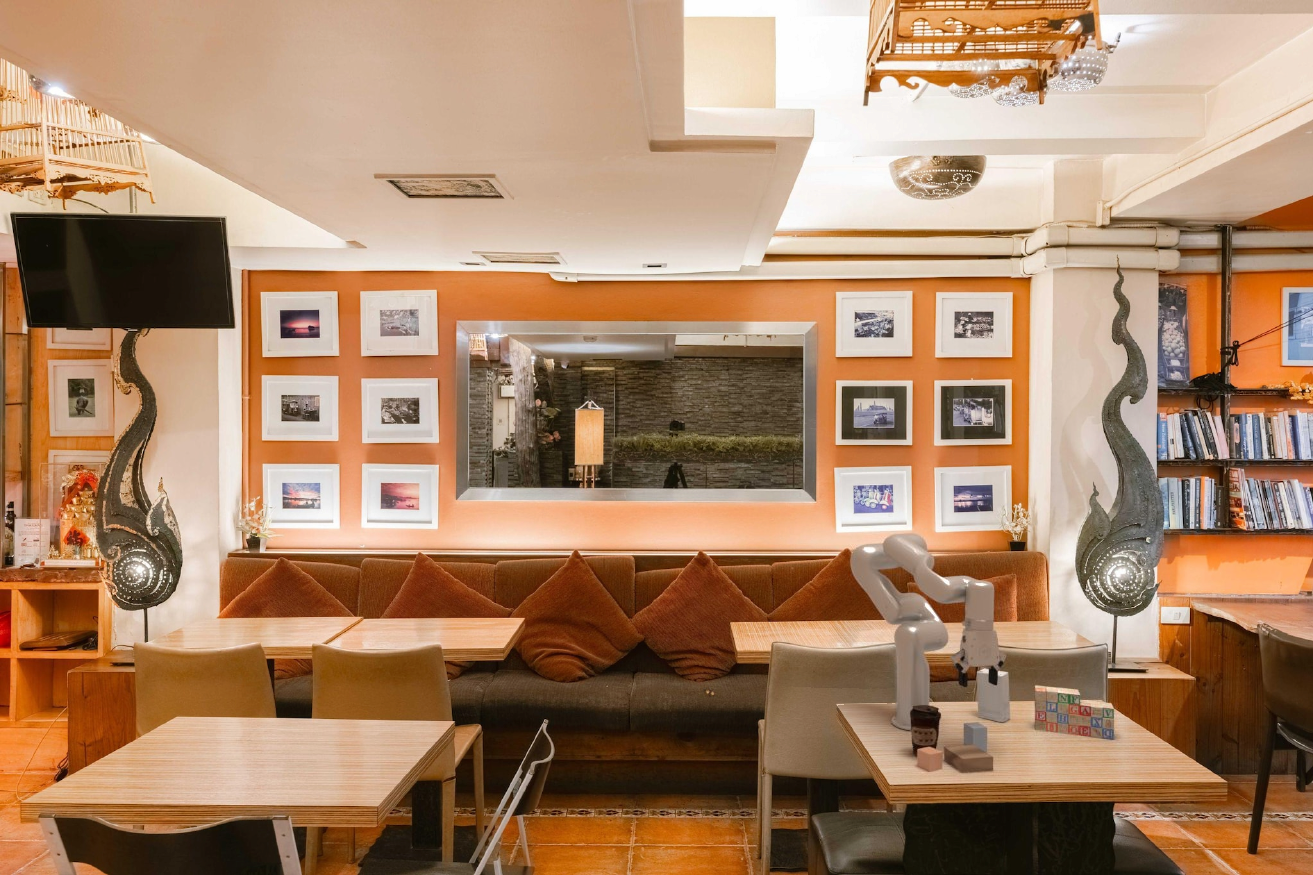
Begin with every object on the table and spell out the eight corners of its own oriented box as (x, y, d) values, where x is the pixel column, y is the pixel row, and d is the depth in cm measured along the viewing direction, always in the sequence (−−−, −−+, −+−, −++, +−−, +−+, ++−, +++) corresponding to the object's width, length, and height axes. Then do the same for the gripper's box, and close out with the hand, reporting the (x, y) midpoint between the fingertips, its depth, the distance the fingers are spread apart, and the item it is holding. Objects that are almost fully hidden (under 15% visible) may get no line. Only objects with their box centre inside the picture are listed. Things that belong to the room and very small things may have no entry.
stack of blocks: (1111, 733, 255) (1112, 693, 255) (1114, 740, 249) (1114, 698, 249) (1034, 724, 263) (1034, 684, 263) (1034, 730, 257) (1035, 689, 258)
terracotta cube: (917, 766, 226) (917, 749, 226) (929, 763, 229) (929, 746, 229) (930, 771, 222) (930, 754, 223) (942, 768, 225) (942, 751, 225)
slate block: (963, 747, 241) (963, 723, 241) (977, 746, 242) (977, 722, 242) (972, 753, 236) (973, 728, 236) (987, 752, 237) (987, 727, 238)
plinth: (943, 761, 231) (944, 746, 231) (973, 759, 233) (973, 744, 233) (962, 774, 222) (962, 758, 222) (993, 771, 224) (993, 756, 224)
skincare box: (1010, 719, 267) (1010, 672, 267) (1002, 723, 263) (1002, 675, 263) (984, 713, 273) (984, 667, 273) (976, 717, 269) (976, 670, 269)
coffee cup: (940, 762, 229) (940, 714, 229) (908, 757, 232) (908, 710, 232) (941, 751, 237) (941, 705, 238) (910, 747, 240) (910, 701, 240)
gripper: (960, 628, 234) (959, 690, 234) (1014, 626, 238) (1013, 687, 238) (944, 622, 241) (943, 682, 241) (997, 620, 245) (995, 679, 245)
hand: (978, 684), depth 239 cm, fingers open, 9 cm apart
